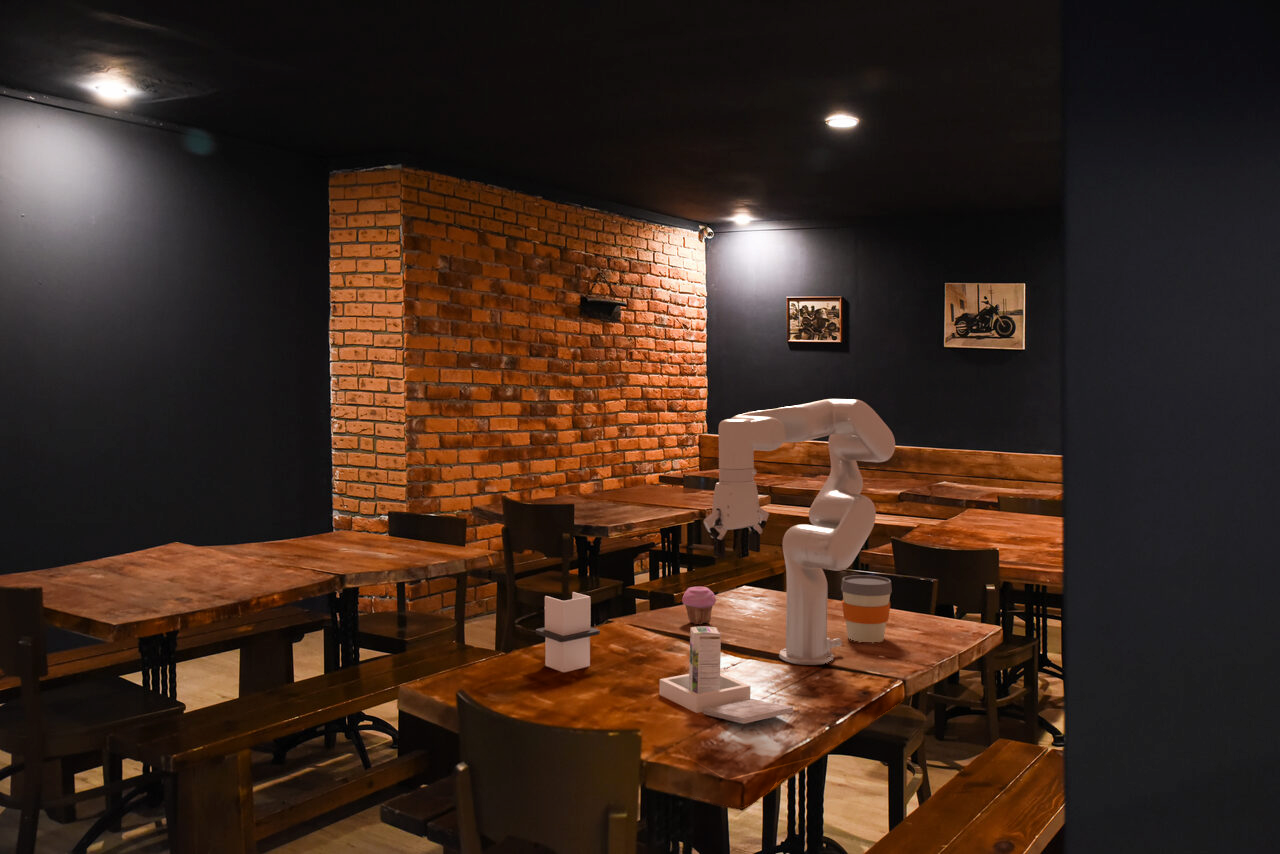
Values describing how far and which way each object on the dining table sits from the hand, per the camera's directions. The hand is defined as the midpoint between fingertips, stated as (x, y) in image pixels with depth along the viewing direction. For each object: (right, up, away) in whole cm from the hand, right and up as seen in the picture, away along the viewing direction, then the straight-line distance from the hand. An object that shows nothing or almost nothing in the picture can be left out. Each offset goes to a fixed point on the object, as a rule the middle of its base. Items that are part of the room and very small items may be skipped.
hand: (737, 553), depth 223 cm
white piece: (-8, -29, -12) cm, 32 cm away
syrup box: (-8, -29, -12) cm, 32 cm away
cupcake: (-5, -25, +52) cm, 58 cm away
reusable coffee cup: (+36, -26, +36) cm, 58 cm away
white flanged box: (-38, -28, +12) cm, 48 cm away
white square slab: (0, -28, -24) cm, 37 cm away
